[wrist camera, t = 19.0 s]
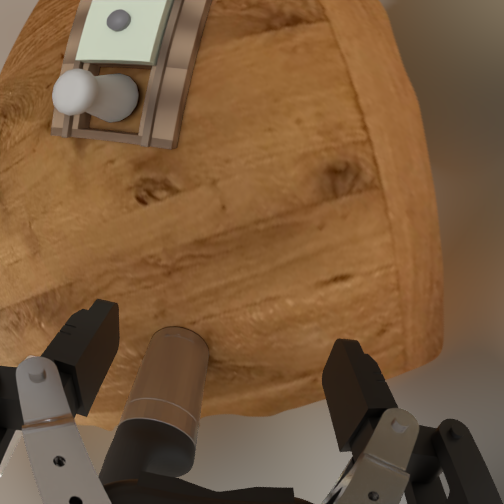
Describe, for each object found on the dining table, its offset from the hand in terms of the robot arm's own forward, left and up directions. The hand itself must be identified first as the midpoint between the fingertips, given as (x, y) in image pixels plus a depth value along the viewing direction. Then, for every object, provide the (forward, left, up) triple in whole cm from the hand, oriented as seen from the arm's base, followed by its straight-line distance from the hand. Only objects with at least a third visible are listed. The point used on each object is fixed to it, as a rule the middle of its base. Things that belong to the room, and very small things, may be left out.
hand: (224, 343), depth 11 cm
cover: (+17, +16, -25) cm, 34 cm away
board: (+13, +16, -28) cm, 35 cm away
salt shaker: (+8, +16, -29) cm, 34 cm away
